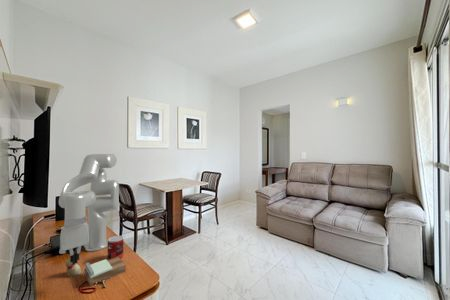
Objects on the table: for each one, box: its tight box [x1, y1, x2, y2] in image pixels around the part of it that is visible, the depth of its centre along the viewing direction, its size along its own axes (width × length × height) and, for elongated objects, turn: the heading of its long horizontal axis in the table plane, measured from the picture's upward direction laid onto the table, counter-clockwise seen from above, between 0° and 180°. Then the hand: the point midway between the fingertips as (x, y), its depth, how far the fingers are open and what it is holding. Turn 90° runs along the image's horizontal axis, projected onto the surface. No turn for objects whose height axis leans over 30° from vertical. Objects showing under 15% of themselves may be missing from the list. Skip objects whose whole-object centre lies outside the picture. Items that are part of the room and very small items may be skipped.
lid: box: [85, 258, 112, 278], centre depth 91 cm, size 11×9×2 cm
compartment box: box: [84, 257, 127, 287], centre depth 93 cm, size 12×15×3 cm
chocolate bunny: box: [65, 258, 83, 278], centre depth 93 cm, size 6×8×10 cm
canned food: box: [107, 235, 124, 260], centre depth 108 cm, size 8×8×11 cm
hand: (74, 262), depth 84 cm, fingers closed
